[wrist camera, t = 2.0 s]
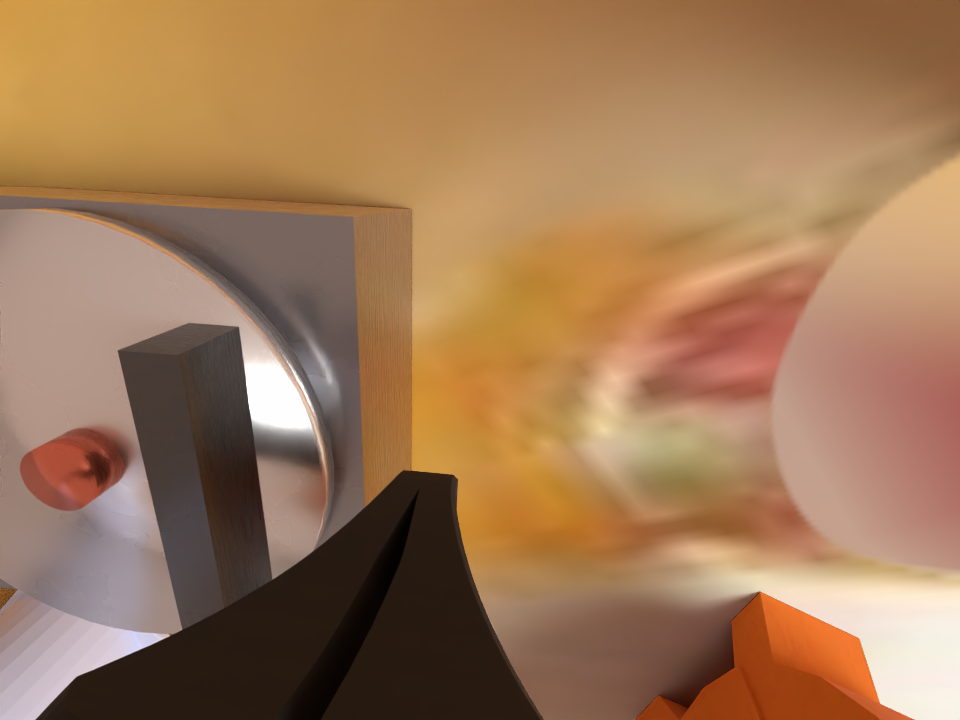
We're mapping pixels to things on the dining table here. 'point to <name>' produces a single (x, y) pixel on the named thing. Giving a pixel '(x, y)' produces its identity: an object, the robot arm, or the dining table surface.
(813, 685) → the orange lumpy piece
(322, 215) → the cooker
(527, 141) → the dining table surface
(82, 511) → the lid
